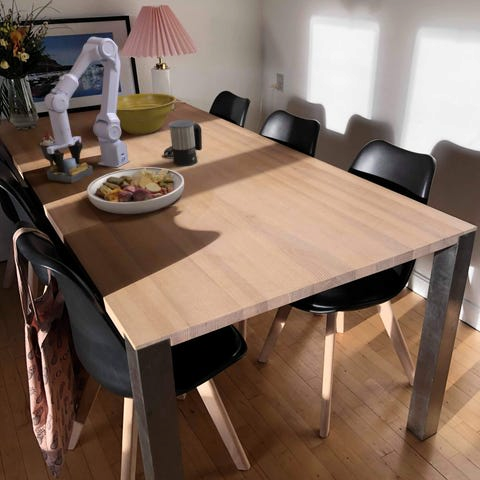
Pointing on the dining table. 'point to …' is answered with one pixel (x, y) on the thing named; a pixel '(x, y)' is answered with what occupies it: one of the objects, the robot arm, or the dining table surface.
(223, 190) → the dining table surface
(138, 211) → the bowl
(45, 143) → the sundae
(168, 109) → the planter bowl
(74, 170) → the grey square frame
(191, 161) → the milk frother
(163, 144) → the dining table surface
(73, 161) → the blue-grey rounded cylinder
